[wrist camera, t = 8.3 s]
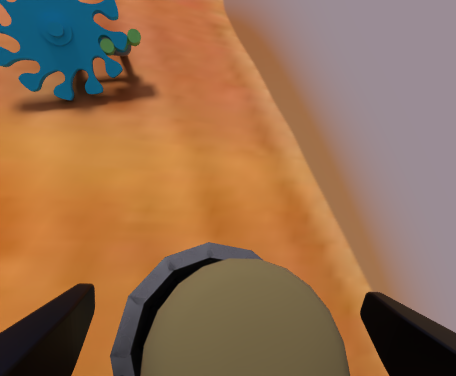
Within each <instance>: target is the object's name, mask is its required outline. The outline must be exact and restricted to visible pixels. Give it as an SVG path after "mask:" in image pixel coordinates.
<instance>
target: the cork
mask: <svg viewBox="0 0 456 376" xmlns="http://www.w3.org/2000/svg"><path fill="white" fill-rule="evenodd" d="M141 376H350V372H349V367H348V362H347V357H346V351H345V346H344V342H343V339H342V337H341V335H340V333H339V331H338V328H337V326H336V324H335V322H334V320H333V317H332V315H331V313H330V311H329V309H328V308H327V307H326V306H325V304H324V303H323V302H322V301H321V299H320V298H319V297H318V296H317V294H316V293H315V292H314V290H313V289H312V288H311V287H310V286H309V285H308V284H307V283H305V282H304V281H303V280H301V279H300V278H299V277H297V276H296V275H294V274H293V273H292V272H290V271H289V270H288V269H286V268H283V267H281V266H278V265H275V264H272V263H269V262H266V261H263V260H261V259H234V258H229V259H226V260H222V261H219V262H216V263H213V264H210V265H207V266H203V267H202V268H200V269H199V270H197V271H196V272H195V273H193V274H192V275H190V276H189V277H188V278H186V279H185V280H184V281H182V282H181V283H179V284H178V285H177V287H176V288H175V289H174V290H173V292H172V293H171V294H170V296H169V297H168V298H167V300H166V301H165V302H164V304H163V305H162V306H161V307H160V309H159V310H158V312H157V314H156V317H155V319H154V322H153V324H152V327H151V329H150V332H149V334H148V337H147V339H146V342H145V344H144V349H143V358H142V367H141Z"/></svg>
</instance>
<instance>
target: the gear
mask: <svg viewBox="0 0 456 376" xmlns="http://www.w3.org/2000/svg"><path fill="white" fill-rule="evenodd" d="M0 4H1V5H2V6H3V7H4V8H5V9H6V11H7V12H8V14H9V15H10V17H11V19H12V22H11V24H10V25H9V26H6V27H5V26H2V25H1V24H0V33H3V34H6V35H9V36H11V37H13V38H14V39H16V40H17V41H18V42H19V44H20V50H19V51H18V52H17V53H12V52H10V51H8V50H6V49H4V48H2V47H0V66H3V67H9V66H11V65H12V64H14V63H15V62H17V61H21V60H33V61H37V62H38V63H39V65H40V71H39V72H38V73H36V74H32V73H23V74H21V75H20V76H19V81H20V82H21V83H22V84H23V85H24V86H25V87H26V88H28V89H29V90H31V91H33V92H36V91H39V90H40V89H41V87H42V84H43V81H44V80H45V78H46V77H47V76H49V75H50V74H52V73H54V72H57V71H61V72H62V73H63V74H64V75H65V81H64V82H63V83H62V84H60V85H58V86H56V87H55V89H54V95H55V96H57V97H59V98H62V99H66V100H73V98H74V91H73V86H72V85H73V79H74V77H75V75H76V73H77V72H78V71H79V70H85V71H87V73H88V76H89V78H88V80H87V82H86V84H85V90H86V92H87V93H88V94H99V93H102V92H103V87H102V85H101V84H100V83H99V82H98V80H97V79H96V77H95V75H94V72H93V60H94V59H95V58H97V57H99V58H102V59H103V60H104V61H105V67H106V72H107V73H108V75H109V76H110V77H112V78H115V77H116V76H118V75H119V74H120V73H121V72H122V67H121V65H120V64H119V63H118V62H116V61H114V60H112V59H110V58H109V57H108V56H107V55H116V56H127V55H128V54H129V53H130V51H131V45H132V46H137V45H139V43H140V39H141V36H140V33H139V32H138V31H137V30H136V29H130V30H129V31H128V34H127V35H126V34H124V33H123V32H112V31H108V30H106V29H104V28H102V27H101V26H99V25H98V24H97V23H95V22H94V20H93V17H94V15H95V14H97V13H101V14H103V15H104V16H106V17H107V18H108V19H110V20H117V19H118V9H117V6H116V3H115V0H104V1H102V2H100V3H97V4H87V3H82V2H80V1H78V0H16V1H15V2H8V1H6V0H0Z"/></svg>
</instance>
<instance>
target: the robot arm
mask: <svg viewBox="0 0 456 376" xmlns="http://www.w3.org/2000/svg"><path fill="white" fill-rule="evenodd" d="M94 310H95V290H94V285H93V284H85V283H80V284H77V285H75V286H74V287H72V288H71V289H69V290H67V291H66V292H64V293H63V294H61V295H59V296H58V297H56V298H55V299H53V300H52V301H50V302H48V303H47V304H45V305H44V306H42V307H40V308H39V309H37V310H36V311H34V312H33V313H31V314H29V315H28V316H26V317H25V318H23V319H22V320H20V321H18V322H17V323H15V324H14V325H12V326H10V327H9V328H7V329H6V330H4V331H3V332H1V333H0V376H71V375H72V372H73V370H74V368H75V365H76V363H77V360H78V357H79V354H80V351H81V349H82V346H83V343H84V340H85V337H86V334H87V332H88V329H89V326H90V323H91V320H92V318H93V315H94ZM360 315H361V319H362V321H363V323H364V325H365V327H366V329H367V332H368V334H369V336H370V338H371V340H372V342H373V344H374V346H375V349H376V351H377V353H378V355H379V357H380V359H381V361H382V363H383V365H384V367H385V369H386V370H387V372H388V374H389V376H456V333H455V332H453V331H451V330H449V329H447V328H446V327H444V326H442V325H440V324H438V323H436V322H434V321H432V320H431V319H429V318H427V317H425V316H423V315H421V314H419V313H417V312H416V311H414V310H412V309H410V308H408V307H406V306H405V305H403V304H401V303H399V302H397V301H395V300H393V299H392V298H390V297H388V296H386V295H384V294H382V293H380V292H368V293H367V294H366V295H365V298H364V301H363V304H362V307H361V311H360Z"/></svg>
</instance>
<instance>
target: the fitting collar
mask: <svg viewBox="0 0 456 376" xmlns="http://www.w3.org/2000/svg"><path fill="white" fill-rule="evenodd" d="M229 258H234V259H261V258H260V257H259V256H258V255H256V254H255V253H254V252H253V251H251V250H246V249H241V248H236V247H230V246H225V245H220V244H215V243H210V242H208V243H205V244H203V245H200V246H197V247H194V248H191V249H188V250H185V251H182V252H179V253H176V254H173V255H170V256H167V257H165V258H164V259H163V260H162V261H161V262H160V263H159V264H158V265H157V266H156V267H155V269H154V270H153V271H152V272H151V273H150V274H149V275H148V276H147V277H146V278H145V279H144V280H143V281H142V282H141V283H140V284H139V286H138V287H137V288H136V289H135V290H134V291H133V292H132V293H131V294H130V295H129V296H128V299H127V303H126V306H125V309H124V312H123V316H122V319H121V322H120V325H119V329H118V332H117V335H116V338H115V342H114V345H113V348H112V351H111V354H110V358H111V364H112V369H113V375H114V376H141V367H142V358H143V349H144V344H145V342H146V339H147V337H148V334H149V332H150V329H151V327H152V324H153V322H154V319H155V317H156V314H157V312H158V310H159V309H160V307H161V306H162V305H163V304H164V302H165V301H166V300H167V298H168V297H169V296H170V294H171V293H172V292H173V290H174V289H175V288H176V287H177V285H178V284H179V283H181V282H182V281H184V280H185V279H186V278H188V277H189V276H190V275H192V274H193V273H195V272H196V271H197V270H199V269H200V268H202V267H203V266H207V265H210V264H213V263H216V262H219V261H222V260H226V259H229ZM261 260H262V259H261ZM263 261H264V260H263Z"/></svg>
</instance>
